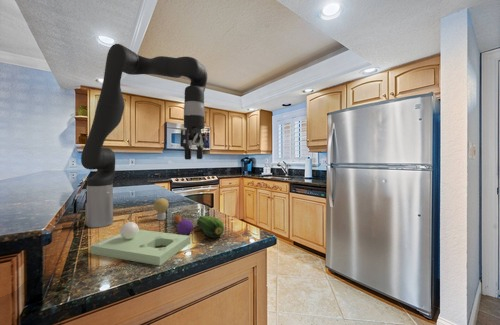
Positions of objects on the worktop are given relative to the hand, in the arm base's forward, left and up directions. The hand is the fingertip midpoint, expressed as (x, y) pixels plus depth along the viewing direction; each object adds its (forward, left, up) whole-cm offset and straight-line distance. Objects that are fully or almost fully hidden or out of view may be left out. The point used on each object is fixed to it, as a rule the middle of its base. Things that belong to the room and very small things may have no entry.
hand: (194, 159), depth 81 cm
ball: (-16, -14, -24) cm, 32 cm away
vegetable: (+3, +6, -30) cm, 30 cm away
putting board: (-10, -14, -29) cm, 34 cm away
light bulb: (-25, +14, -29) cm, 41 cm away
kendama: (-9, +6, -30) cm, 32 cm away
